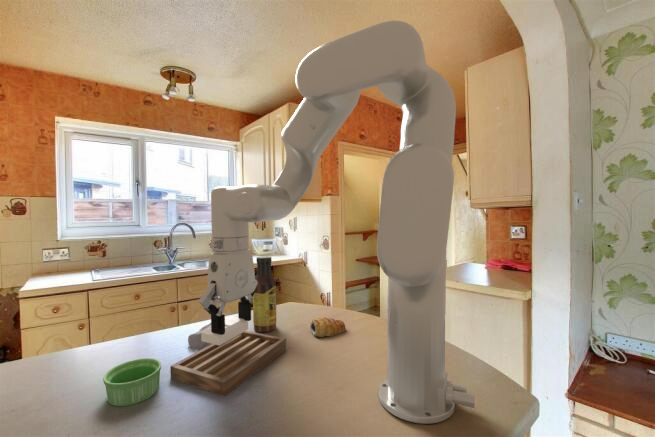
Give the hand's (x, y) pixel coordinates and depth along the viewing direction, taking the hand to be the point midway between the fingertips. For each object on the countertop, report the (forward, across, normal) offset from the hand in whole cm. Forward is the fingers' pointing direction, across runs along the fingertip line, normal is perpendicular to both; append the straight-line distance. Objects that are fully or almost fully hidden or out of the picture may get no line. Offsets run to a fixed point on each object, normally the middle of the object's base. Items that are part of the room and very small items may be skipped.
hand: (232, 325), depth 68 cm
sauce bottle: (+8, +18, +5) cm, 20 cm away
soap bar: (+3, 0, +2) cm, 3 cm away
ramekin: (+9, -16, +9) cm, 20 cm away
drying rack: (+8, 0, 0) cm, 8 cm away
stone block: (+9, +7, +12) cm, 17 cm away
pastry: (+8, +23, -11) cm, 27 cm away
